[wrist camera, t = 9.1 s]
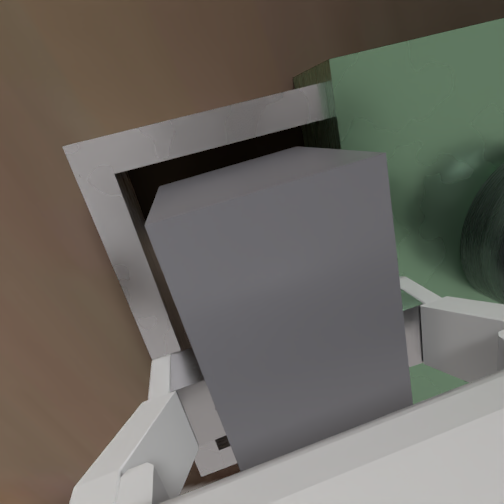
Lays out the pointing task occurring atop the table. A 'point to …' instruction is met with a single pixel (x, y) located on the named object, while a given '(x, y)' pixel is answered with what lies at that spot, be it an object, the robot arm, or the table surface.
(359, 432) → the robot arm
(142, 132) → the multicoloured piece
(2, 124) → the table surface
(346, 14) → the table surface
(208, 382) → the grey rectangular cuboid
